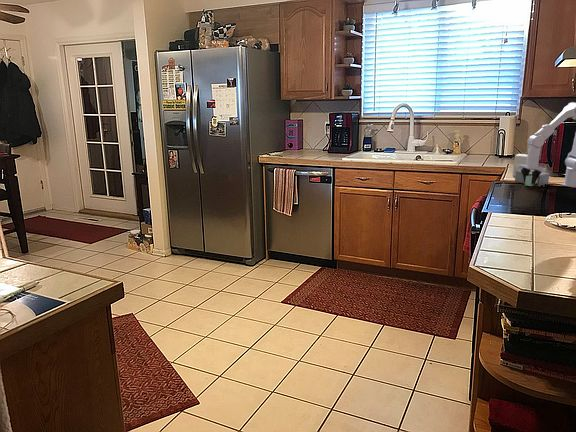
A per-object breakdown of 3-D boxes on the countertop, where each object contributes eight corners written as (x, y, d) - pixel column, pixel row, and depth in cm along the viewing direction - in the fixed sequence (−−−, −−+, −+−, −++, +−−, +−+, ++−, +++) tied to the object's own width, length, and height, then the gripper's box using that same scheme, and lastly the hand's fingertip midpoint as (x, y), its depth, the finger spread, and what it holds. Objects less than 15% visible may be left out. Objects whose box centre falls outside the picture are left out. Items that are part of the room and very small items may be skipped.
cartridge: (537, 181, 264) (538, 173, 263) (544, 183, 261) (545, 174, 260) (524, 184, 258) (525, 175, 257) (531, 186, 255) (532, 177, 253)
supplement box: (529, 176, 281) (532, 154, 277) (525, 178, 276) (528, 156, 272) (516, 174, 286) (519, 153, 282) (511, 176, 280) (514, 155, 277)
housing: (524, 179, 273) (525, 169, 271) (547, 184, 261) (549, 173, 260) (514, 181, 268) (516, 170, 266) (538, 186, 257) (540, 175, 255)
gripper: (515, 156, 256) (512, 181, 261) (542, 161, 245) (538, 186, 249) (523, 155, 260) (520, 179, 264) (549, 159, 248) (545, 185, 252)
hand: (529, 183), depth 257 cm, fingers closed on cartridge, 4 cm apart
